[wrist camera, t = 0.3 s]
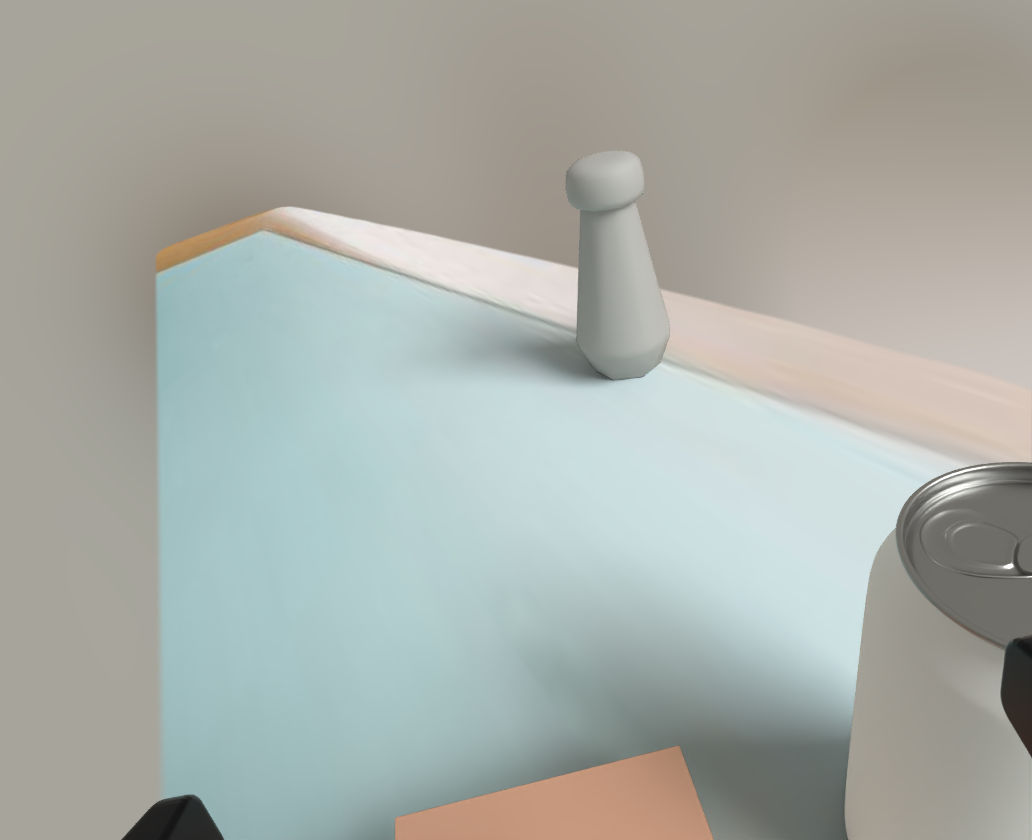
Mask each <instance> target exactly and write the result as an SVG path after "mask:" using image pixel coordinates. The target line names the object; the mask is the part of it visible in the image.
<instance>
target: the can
mask: <svg viewBox="0 0 1032 840" xmlns="http://www.w3.org/2000/svg"><path fill="white" fill-rule="evenodd" d="M1029 635H1032V463H1027V462H1002V463H989V464H981V465H975V466H970V467H965V468H961V469H958V470H954V471H951V472H948V473H946V474H943V475H941V476H939V477H937V478H935V479H933V480H931V481H929V482H927V483H926V484H924V485H923V486H922V487H920V488H919V489H918V490H917V491H915V492H914V493H913V494H912V495H911V496H910V498H909V499H908V500H907V501H906V503H905V504H904V506H903V507H902V509H901V511H900V514H899V516H898V520H897V524H896V528H895V529H894V530H893V531H892V532H891V533H890V534H889V536H888V537H887V538H886V539H885V541H884V542H883V543H882V545H881V546H880V548H879V550H878V552H877V554H876V556H875V559H874V562H873V565H872V568H871V572H870V577H869V583H868V589H867V595H866V603H865V611H864V620H863V628H862V637H861V646H860V655H859V664H858V673H857V683H856V692H855V701H854V711H853V720H852V730H851V739H850V749H849V759H848V769H847V780H846V792H845V825H846V832H847V837H848V840H1032V758H1031V756H1030V754H1029V753H1028V751H1027V749H1026V748H1025V746H1024V744H1023V743H1022V741H1021V739H1020V738H1019V736H1018V734H1017V733H1016V731H1015V729H1014V728H1013V726H1012V724H1011V723H1010V721H1009V719H1008V717H1007V715H1006V713H1005V711H1004V709H1003V706H1002V702H1001V697H1000V689H1001V680H1002V672H1003V664H1004V655H1005V648H1006V645H1007V644H1008V643H1009V641H1010V640H1012V639H1014V638H1018V637H1023V636H1029Z"/></svg>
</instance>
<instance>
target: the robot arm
mask: <svg viewBox="0 0 1032 840" xmlns="http://www.w3.org/2000/svg"><path fill="white" fill-rule="evenodd" d="M1000 697H1001V702H1002V706H1003V709H1004V711H1005V713H1006V715H1007V717H1008V719H1009V721H1010V723H1011V724H1012V726H1013V728H1014V729H1015V731H1016V733H1017V734H1018V736H1019V738H1020V739H1021V741H1022V743H1023V744H1024V746H1025V748H1026V749H1027V751H1028V753H1029V754H1030V756H1031V758H1032V635H1029V636H1023V637H1018V638H1014V639H1012V640H1010V641H1009V643H1008V644H1007V645H1006V648H1005V655H1004V664H1003V672H1002V680H1001V689H1000ZM122 840H224V838H223V836H222V834H221V833H220V831H219V829H218V828H217V826H216V824H215V823H214V821H213V819H212V818H211V816H210V814H209V813H208V811H207V809H206V808H205V806H204V804H203V803H202V801H201V800H200V799H199V798H198V797H197V796H195V795H184V796H178V797H173V798H168V799H164V800H161V801H159V802H157V803H156V804H154V805H153V806H152V807H151V808H150V809H149V810H148V811H147V812H146V813H145V814H144V815H143V817H142V818H141V819H140V820H139V821H138V822H137V823H136V824H135V825H134V827H132V829H131V830H130V831H129V832H128V833H127V834H126V835H125V836H124V837H123V839H122Z"/></svg>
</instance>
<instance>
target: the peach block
mask: <svg viewBox="0 0 1032 840" xmlns="http://www.w3.org/2000/svg"><path fill="white" fill-rule="evenodd" d="M395 840H714V839H713V836H712V834H711V831H710V828H709V825H708V823H707V820H706V817H705V815H704V812H703V809H702V806H701V804H700V801H699V798H698V795H697V793H696V790H695V787H694V784H693V782H692V779H691V776H690V773H689V771H688V768H687V765H686V762H685V760H684V757H683V754H682V751H681V749H680V746H679V745H678V746H674V747H671V748H667V749H663V750H659V751H655V752H651V753H647V754H643V755H639V756H635V757H631V758H627V759H623V760H620V761H616V762H612V763H608V764H604V765H600V766H596V767H592V768H588V769H584V770H580V771H576V772H573V773H569V774H565V775H561V776H557V777H553V778H549V779H545V780H541V781H537V782H533V783H529V784H526V785H522V786H518V787H514V788H510V789H506V790H502V791H498V792H494V793H490V794H486V795H482V796H479V797H475V798H471V799H467V800H463V801H459V802H455V803H451V804H447V805H443V806H439V807H435V808H431V809H428V810H424V811H420V812H416V813H412V814H408V815H404V816H400V817H396V818H395Z"/></svg>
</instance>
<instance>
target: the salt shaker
mask: <svg viewBox="0 0 1032 840" xmlns="http://www.w3.org/2000/svg"><path fill="white" fill-rule="evenodd" d="M643 192H644V175H643V170H642V166H641V162H640V159H639V158H638V157H636V156H635V155H634V154H632V153H630V152H627V151H605V152H600V153H595V154H591V155H589V156H586V157H584V158H581V159H579V160H577V161H576V162H574V163H573V164H572V165H571V167H570V168H569V169H568V170H567V173H566V193H567V197H568V201H569V202H570V204H571V206H573V207H575V208H576V209H579V210H580V240H579V272H578V304H577V336H576V340H577V343H578V346H579V348H580V349H581V350H582V352H583V353H584V355H585V356H586V357H587V359H588V360H589V362H590V363H591V364H592V366H593V367H594V369H595V370H596V371H598V372H600V373H601V374H603V375H605V376H607V377H609V378H610V379H612V380H619V379H628V378H637V377H643V376H645V375H646V374H647V373H648V372H650V371H651V370H652V369H653V368H655V367H656V366H657V365H658V364H660V362H661V359H662V357H663V354H664V351H665V348H666V345H667V342H668V339H669V337H670V324H669V318H668V315H667V311H666V308H665V305H664V301H663V298H662V295H661V291H660V288H659V285H658V282H657V278H656V275H655V272H654V268H653V264H652V261H651V257H650V253H649V250H648V246H647V242H646V239H645V235H644V232H643V228H642V224H641V221H640V217H639V214H638V210H637V206H636V202H635V200H637V199H638V198H639V197H640V196H641V195H642V194H643Z"/></svg>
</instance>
